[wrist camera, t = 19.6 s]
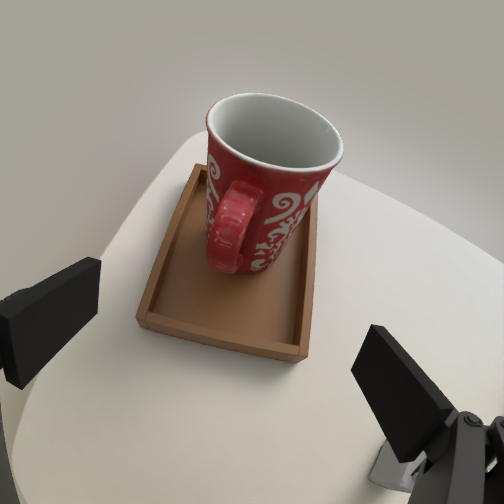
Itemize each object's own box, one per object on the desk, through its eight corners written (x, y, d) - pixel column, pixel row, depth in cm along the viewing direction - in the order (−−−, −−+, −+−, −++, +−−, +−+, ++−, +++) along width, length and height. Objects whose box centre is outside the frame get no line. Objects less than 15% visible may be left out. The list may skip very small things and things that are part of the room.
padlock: (398, 414, 22) (476, 397, 14) (422, 430, 22) (499, 417, 13) (362, 476, 19) (439, 488, 10) (389, 490, 18) (466, 500, 10)
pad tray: (140, 327, 23) (135, 317, 21) (194, 179, 32) (195, 162, 30) (297, 363, 24) (307, 357, 22) (310, 208, 34) (317, 194, 31)
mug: (221, 192, 31) (242, 80, 20) (298, 227, 31) (352, 123, 20) (158, 288, 25) (138, 172, 13) (254, 334, 24) (314, 249, 13)
